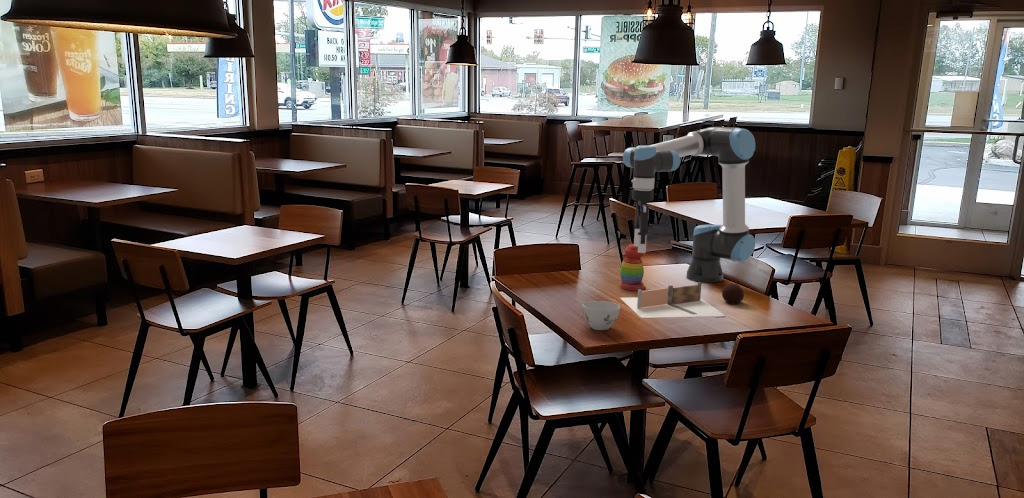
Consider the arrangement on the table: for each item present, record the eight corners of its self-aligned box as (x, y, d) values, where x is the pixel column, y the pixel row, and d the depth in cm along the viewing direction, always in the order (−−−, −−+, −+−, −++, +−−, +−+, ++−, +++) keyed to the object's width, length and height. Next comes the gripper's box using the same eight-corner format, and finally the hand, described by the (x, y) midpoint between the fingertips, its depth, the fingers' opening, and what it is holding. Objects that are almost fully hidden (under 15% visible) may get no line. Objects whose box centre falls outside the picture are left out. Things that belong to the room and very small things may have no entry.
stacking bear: (646, 291, 302) (649, 247, 298) (621, 290, 302) (623, 246, 298) (642, 284, 312) (645, 241, 309) (617, 283, 313) (620, 241, 309)
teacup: (626, 331, 251) (627, 308, 249) (593, 335, 246) (594, 311, 244) (602, 318, 264) (603, 296, 262) (571, 322, 259) (572, 299, 257)
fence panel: (665, 303, 282) (666, 286, 280) (667, 304, 280) (668, 286, 279) (636, 307, 275) (637, 289, 274) (638, 308, 274) (639, 290, 273)
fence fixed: (698, 299, 289) (699, 281, 288) (701, 300, 288) (702, 282, 286) (665, 303, 282) (667, 285, 281) (669, 305, 281) (670, 286, 279)
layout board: (697, 297, 294) (697, 295, 294) (725, 317, 269) (725, 315, 268) (619, 299, 289) (619, 297, 289) (640, 319, 264) (641, 317, 264)
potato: (727, 307, 281) (728, 287, 280) (716, 300, 290) (718, 281, 289) (747, 307, 283) (749, 286, 281) (736, 300, 292) (738, 280, 290)
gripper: (628, 185, 285) (625, 242, 290) (636, 193, 262) (633, 255, 267) (649, 185, 285) (645, 243, 289) (658, 193, 262) (654, 256, 267)
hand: (639, 249), depth 278 cm, fingers open, 11 cm apart
